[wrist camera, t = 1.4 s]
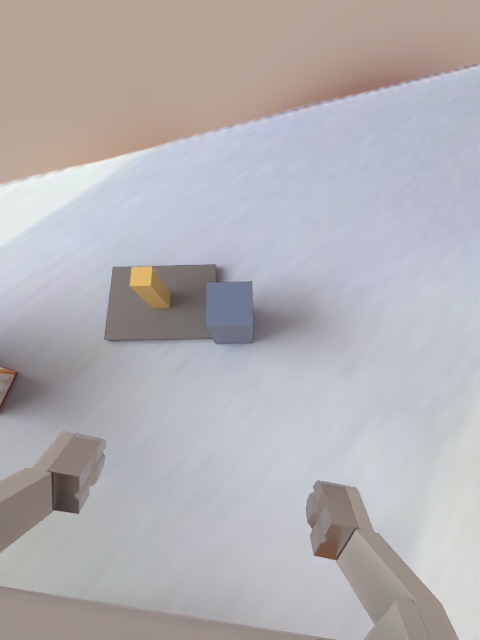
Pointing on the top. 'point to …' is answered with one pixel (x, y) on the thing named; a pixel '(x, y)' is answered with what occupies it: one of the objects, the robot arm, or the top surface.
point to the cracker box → (5, 382)
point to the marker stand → (158, 302)
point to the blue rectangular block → (230, 312)
